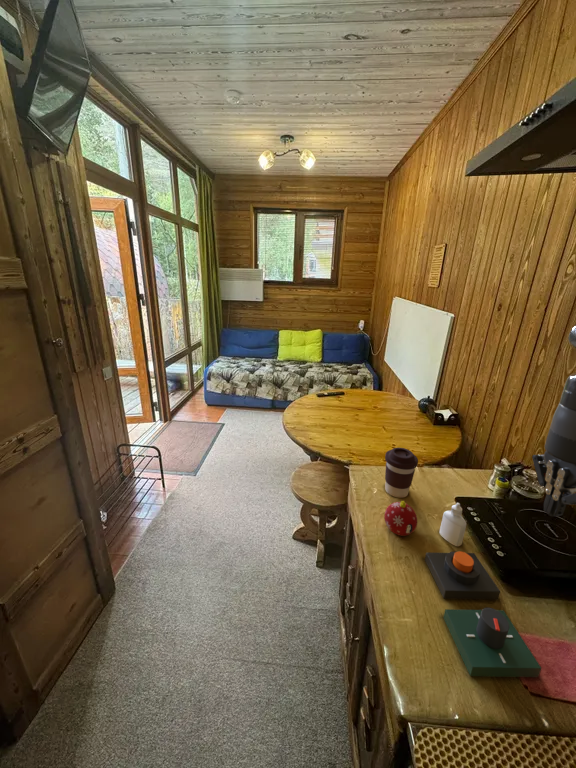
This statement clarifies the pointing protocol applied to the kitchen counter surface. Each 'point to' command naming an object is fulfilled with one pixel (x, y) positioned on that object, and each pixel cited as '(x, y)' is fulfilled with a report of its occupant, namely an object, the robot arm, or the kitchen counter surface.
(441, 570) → the block
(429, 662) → the kitchen counter surface
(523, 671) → the green dial base plate
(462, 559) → the orange button cap
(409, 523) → the christmas ornament
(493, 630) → the knob
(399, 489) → the coffee cup
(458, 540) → the eye dropper bottle
